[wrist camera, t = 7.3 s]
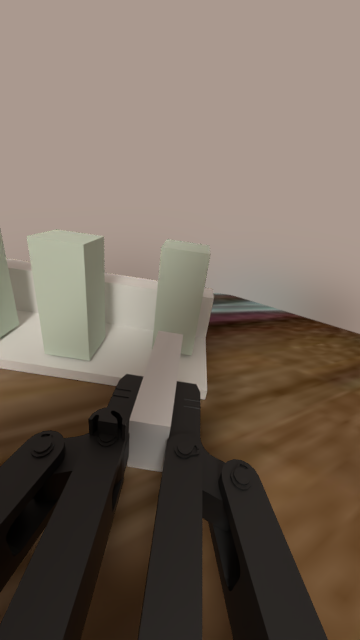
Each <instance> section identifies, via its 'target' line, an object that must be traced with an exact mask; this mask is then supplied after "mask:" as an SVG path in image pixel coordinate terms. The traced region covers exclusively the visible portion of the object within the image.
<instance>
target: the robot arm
mask: <svg viewBox="0 0 360 640" xmlns="http://www.w3.org/2000/svg"><path fill="white" fill-rule="evenodd" d="M182 339H183V334H177V333H170V332H164V331H158V334H157V337H156V340H155V343H154V346H153V349H152V352H151V355H150V358H149V361H148V364H147V367H146V370H145V374H144V376H137V375H131V374H126V375H125V376H123V377H122V378H121V379H120V380H119V382H118V384H117V386H116V389H115V391H114V393H113V396H112V397H111V399H110V402H109V404H108V406H107V407H106V408H103V409H99V410H97V411H96V412H94V413H93V414H92V415H91V416H90V418H89V419H88V420H89V433H87V434H85V435H82V436H77V437H70V438H63V436H62V435H61V434H60V433H58V432H56V431H51V430H50V431H43V432H40V433H38V434H36V435H34V436H32V437H31V438H30V439H28V440H27V441H26V442H25V443H24V444H23V445H22V446H21V447H20V448H19V449H18V450H17V451H16V452H15V453H14V454H13V455H12V456H11V457H10V458H9V459H8V460H7V461H6V462H5V463H4V464H3V465H2V466H0V592H1V590H2V589H3V588H4V586H5V585H6V583H7V582H8V580H9V579H10V577H11V576H12V575H13V573H14V572H15V570H16V569H17V567H18V566H19V564H20V563H21V562H22V560H23V559H24V557H25V556H26V554H27V553H28V551H29V550H30V549H31V547H32V546H33V544H34V543H35V541H36V540H37V538H38V537H39V536H40V534H41V533H42V531H43V530H44V528H45V527H46V528H45V530H44V532H43V535H42V537H41V539H40V541H39V543H38V545H37V547H36V549H35V552H34V554H33V556H32V558H31V560H30V562H29V564H28V566H27V569H26V571H25V573H24V575H23V577H22V579H21V581H20V583H19V586H18V588H17V590H16V592H15V594H14V596H13V598H12V600H11V603H10V605H9V607H8V609H7V611H6V613H5V615H4V617H3V620H2V622H1V624H0V640H80V639H81V635H82V631H83V628H84V624H85V620H86V617H87V613H88V609H89V606H90V602H91V598H92V595H93V591H94V588H95V584H96V580H97V577H98V573H99V569H100V566H101V562H102V558H103V555H104V551H105V547H106V544H107V540H108V536H109V533H110V529H111V525H112V522H113V518H114V514H115V511H116V507H117V503H118V500H119V496H120V492H121V489H122V485H123V480H124V471H125V468H126V464H127V467H134V468H140V469H146V470H152V471H158V472H162V477H161V484H160V490H159V496H158V504H157V511H156V517H155V524H154V531H153V538H152V545H151V551H150V558H149V565H148V572H147V579H146V585H145V592H144V599H143V606H142V613H141V619H140V626H139V633H138V640H202V518H204V519H205V520H207V521H208V523H209V528H210V532H211V537H212V542H213V546H214V551H215V556H216V560H217V565H218V570H219V574H220V579H221V584H222V588H223V593H224V598H225V602H226V607H227V612H228V616H229V621H230V626H231V630H232V635H233V640H328V639H327V637H326V634H325V632H324V630H323V627H322V625H321V622H320V620H319V618H318V615H317V613H316V611H315V608H314V606H313V603H312V601H311V599H310V596H309V594H308V592H307V589H306V587H305V585H304V582H303V580H302V577H301V575H300V573H299V570H298V568H297V566H296V563H295V561H294V559H293V556H292V554H291V551H290V549H289V547H288V544H287V542H286V540H285V537H284V535H283V533H282V530H281V528H280V525H279V523H278V521H277V518H276V516H275V514H274V511H273V509H272V506H271V504H270V502H269V499H268V497H267V495H266V492H265V490H264V488H263V485H262V483H261V480H260V478H259V476H258V474H257V473H256V471H255V469H254V468H252V467H251V466H250V465H249V464H248V463H246V462H244V461H242V460H236V459H233V460H230V461H228V462H227V463H225V462H223V461H221V460H219V459H217V458H215V457H213V456H212V455H210V454H209V453H208V452H207V451H206V450H205V449H204V447H203V446H202V443H201V440H200V390H199V388H198V386H197V384H192V383H186V382H180V381H177V376H178V369H179V362H180V354H181V347H182Z"/></svg>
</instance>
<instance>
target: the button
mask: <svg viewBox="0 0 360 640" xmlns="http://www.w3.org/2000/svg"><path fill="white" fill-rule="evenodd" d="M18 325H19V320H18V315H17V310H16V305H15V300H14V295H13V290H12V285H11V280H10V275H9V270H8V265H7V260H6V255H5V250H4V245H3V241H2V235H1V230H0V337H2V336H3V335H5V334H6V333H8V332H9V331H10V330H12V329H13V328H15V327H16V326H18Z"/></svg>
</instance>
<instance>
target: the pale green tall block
mask: <svg viewBox="0 0 360 640" xmlns="http://www.w3.org/2000/svg"><path fill="white" fill-rule="evenodd" d="M209 259H210V248H209V245H202V244H195V243H189V242H182V241H175V240H169V239H167V241H166V242H165V243H164V244H163V246H162V247H161V256H160V267H159V278H158V288H157V299H156V310H155V321H154V332H153V343H152V349H153V346H154V343H155V340H156V337H157V334H158V331H164V332H170V333H177V334H183V339H182V347H181V354H185V355H191V356H192V352H193V346H194V341H195V335H196V330H197V325H198V319H199V314H200V308H201V303H202V298H203V292H204V287H205V281H206V276H207V270H208V265H209Z"/></svg>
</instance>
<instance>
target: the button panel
mask: <svg viewBox="0 0 360 640" xmlns="http://www.w3.org/2000/svg"><path fill="white" fill-rule="evenodd" d="M6 260H7V265H8V270H9V275H10V280H11V285H12V290H13V295H14V300H15V305H16V310H17V315H18V320H19V325H18V326H16V327H15V328H13V329H12V330H10V331H9V332H8V333H6V334H5V335H3V336H2V337H0V368H2V369H9V370H15V371H22V372H28V373H35V374H41V375H48V376H54V377H61V378H67V379H74V380H80V381H87V382H93V383H100V384H106V385H113V386H117V384H118V382H119V380H120V379H121V378H122V377H123V376H125V375H126V374H131V375H137V376H144V374H145V370H146V367H147V364H148V361H149V358H150V355H151V352H152V343H153V332H154V321H155V310H156V299H157V288H158V281H157V280H150V279H143V278H137V277H130V276H123V275H116V274H110V273H104V275H105V339H104V340H103V342H102V343H101V345H100V346H99V347H98V349H97V350H96V352H95V353H94V355H93V356H92V358H91V359H90V361H88V360H82V359H75V358H69V357H62V356H56V355H49V354H45V352H44V345H43V339H42V332H41V326H40V319H39V313H38V306H37V300H36V293H35V287H34V281H33V274H32V268H31V262H29V261H22V260H16V259H9V258H6ZM213 300H214V296H213V289H210V288H204V292H203V298H202V303H201V308H200V314H199V319H198V325H197V330H196V335H195V341H194V346H193V352H192V356H191V355H185V354H180V362H179V369H178V376H177V381H180V382H186V383H192V384H197V386H198V388H199V390H200V399H204V400H205V398H206V394H207V369H206V339H205V338H206V333H207V329H208V324H209V319H210V314H211V310H212V305H213Z"/></svg>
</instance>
